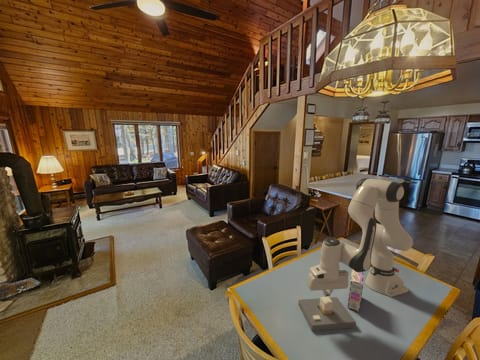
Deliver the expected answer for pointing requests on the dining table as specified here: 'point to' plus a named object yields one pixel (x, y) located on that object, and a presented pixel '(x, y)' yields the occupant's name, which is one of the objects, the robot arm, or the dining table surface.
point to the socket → (325, 322)
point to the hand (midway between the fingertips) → (326, 295)
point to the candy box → (355, 290)
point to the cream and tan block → (326, 306)
